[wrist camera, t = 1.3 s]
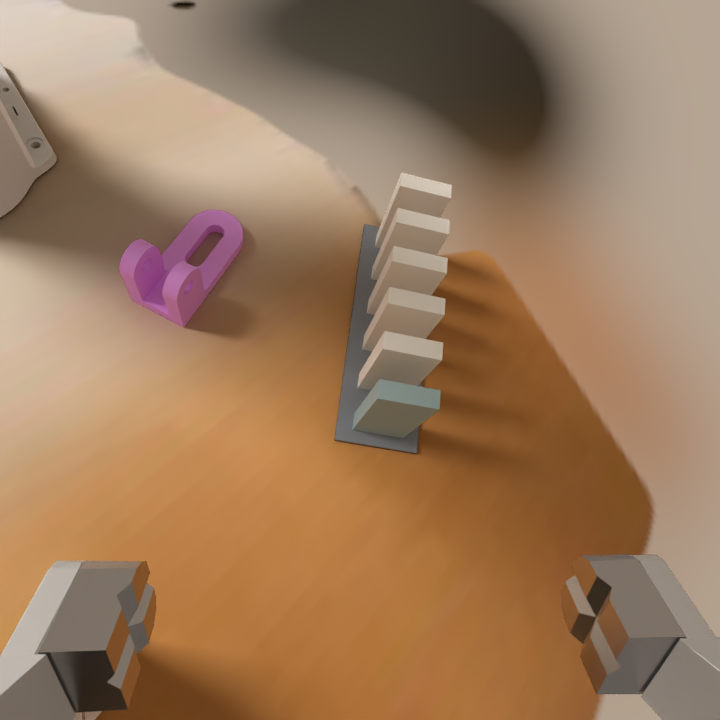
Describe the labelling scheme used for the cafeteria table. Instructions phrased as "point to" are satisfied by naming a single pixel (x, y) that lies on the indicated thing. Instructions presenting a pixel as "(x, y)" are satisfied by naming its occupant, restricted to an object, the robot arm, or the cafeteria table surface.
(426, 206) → the domino
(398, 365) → the domino
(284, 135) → the cafeteria table surface
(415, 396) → the domino
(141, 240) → the bracket
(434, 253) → the domino
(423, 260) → the domino
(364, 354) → the mat
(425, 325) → the domino
